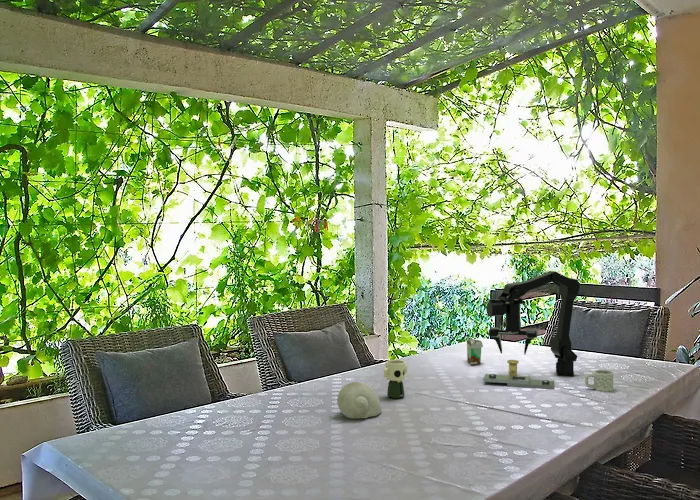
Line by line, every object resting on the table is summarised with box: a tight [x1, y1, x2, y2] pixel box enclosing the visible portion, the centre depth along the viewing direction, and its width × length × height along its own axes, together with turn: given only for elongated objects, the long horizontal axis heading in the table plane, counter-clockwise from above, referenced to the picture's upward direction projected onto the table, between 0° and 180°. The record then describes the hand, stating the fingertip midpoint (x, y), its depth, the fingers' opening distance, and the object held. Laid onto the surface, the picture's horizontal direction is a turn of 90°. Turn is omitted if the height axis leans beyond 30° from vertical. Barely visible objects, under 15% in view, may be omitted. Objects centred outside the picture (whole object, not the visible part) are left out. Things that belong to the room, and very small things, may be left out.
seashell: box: [336, 381, 382, 420], centre depth 218 cm, size 15×14×15 cm
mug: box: [584, 369, 614, 393], centre depth 245 cm, size 10×7×7 cm, turn 84°
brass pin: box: [506, 359, 520, 376], centre depth 265 cm, size 4×4×7 cm
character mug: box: [383, 359, 408, 399], centre depth 238 cm, size 11×7×13 cm, turn 127°
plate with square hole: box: [483, 373, 555, 390], centre depth 255 cm, size 26×8×3 cm, turn 72°
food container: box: [466, 338, 484, 367], centre depth 293 cm, size 12×6×10 cm, turn 179°
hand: (513, 353), depth 265 cm, fingers open, 9 cm apart
